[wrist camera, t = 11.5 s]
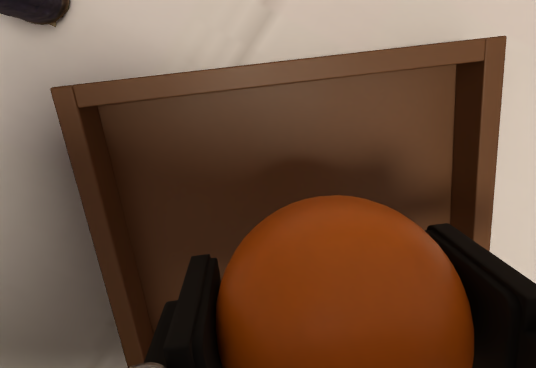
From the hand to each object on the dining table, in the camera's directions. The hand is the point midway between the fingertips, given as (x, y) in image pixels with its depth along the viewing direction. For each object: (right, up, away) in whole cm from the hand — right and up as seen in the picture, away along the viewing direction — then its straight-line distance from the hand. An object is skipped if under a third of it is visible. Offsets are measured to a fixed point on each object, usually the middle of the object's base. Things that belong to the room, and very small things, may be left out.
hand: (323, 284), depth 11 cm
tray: (-1, +2, +6) cm, 6 cm away
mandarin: (0, 0, -1) cm, 2 cm away
